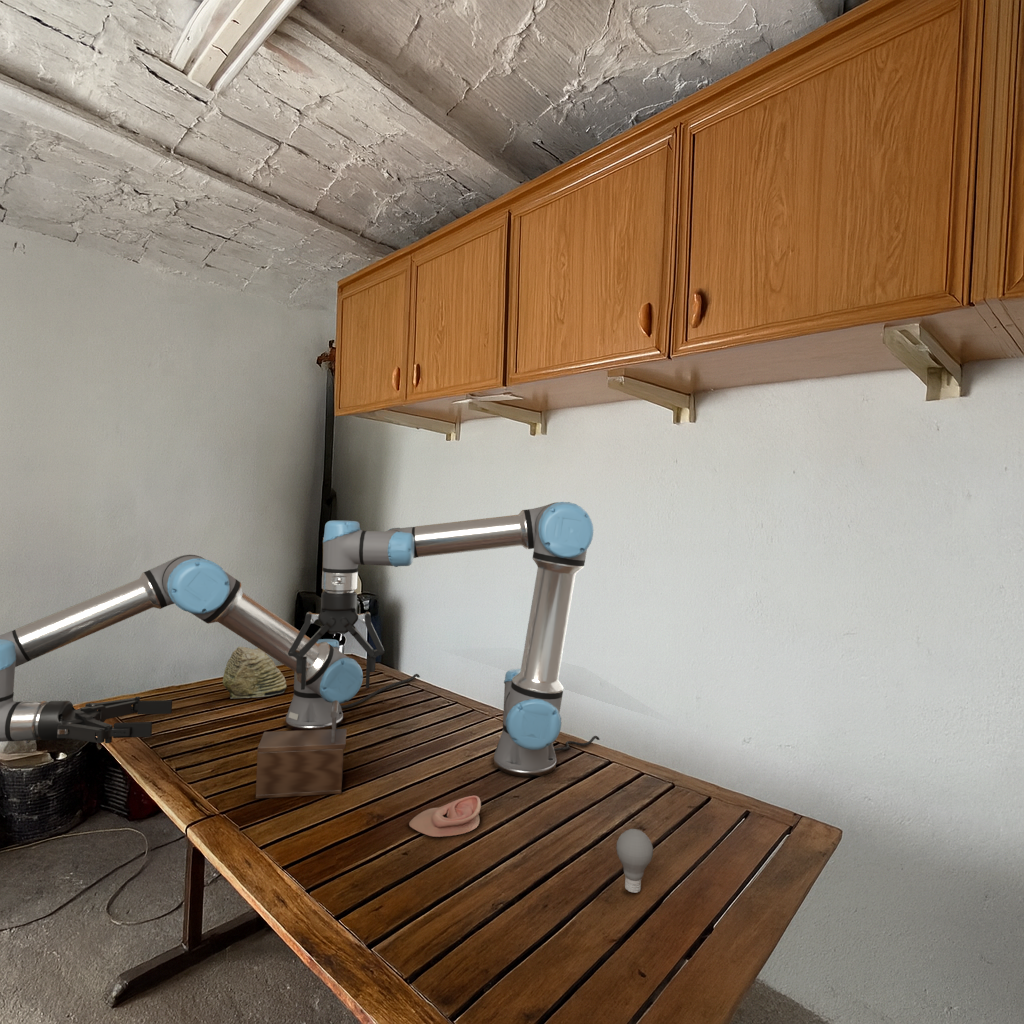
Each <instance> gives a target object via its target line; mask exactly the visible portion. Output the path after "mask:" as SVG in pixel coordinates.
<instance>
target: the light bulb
mask: <svg viewBox="0 0 1024 1024" xmlns="http://www.w3.org/2000/svg"><path fill="white" fill-rule="evenodd" d="M615 849H616V854H617V857H618V859H619V861H620V863H621V865H622V867H623V873H624V874H623V875H624V876H625V878H624V888H625V890H627V891H628V892H630V893H634V894H635V893H639V892H640V891H641V889H642V887H641V886H642V879H643V877H644V875H645V871H646V868H647V867H648V866H649V864H650V863H651V861H652V859H653V855H654V847H653V843H652V841H651V838H649V836H648V835H647V834H646V833H645V832H643V831H642V830H641V829H636V828H629V829H627V830H625V831H623V832H622V833H621V834H620V835H619V837H618V839H617V841H616V847H615Z"/></svg>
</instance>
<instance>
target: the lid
mask: <svg viewBox="0 0 1024 1024" xmlns="http://www.w3.org/2000/svg"><path fill="white" fill-rule="evenodd" d="M338 707H339V702H338V701H337V700H335V701H333V702H332V708H331V717H332V729H327V730H300V731H295V730H279V731H278V730H277V731H264V732H263V734H262V736H261V739H260V741H259V744H258V746H257V753H258V752H280V751H302V750H324V749H344V750H345V749H346V745H347V744H346V743H347V728H337V727H336V718H337V715H338Z"/></svg>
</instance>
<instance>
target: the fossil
mask: <svg viewBox="0 0 1024 1024" xmlns="http://www.w3.org/2000/svg"><path fill="white" fill-rule="evenodd" d="M222 676H223V677H222V685H223V687H224V688H225V690H226V691H228V693H229V698H230V699H250V698H264V697H271V696H275V695H281V694H284V693H285V691H286V689H287V687H288V686H287V680H286V678H285V676H284V674H283V673H282V672H281V669H279V668H278V667H277V665H276V663H275V662H274V659H272V657H270V655H268V654H267V653H265V652H264V651H262V650H261V649H259V648H257V647H256V648H251V647H247V646H246V647H245V646H238V647H237V648H236V649H235V650H233V651H232V653H231V656H230V657H229V659H228V660H227V663H226V666H225V668H224V671H223V675H222Z"/></svg>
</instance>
